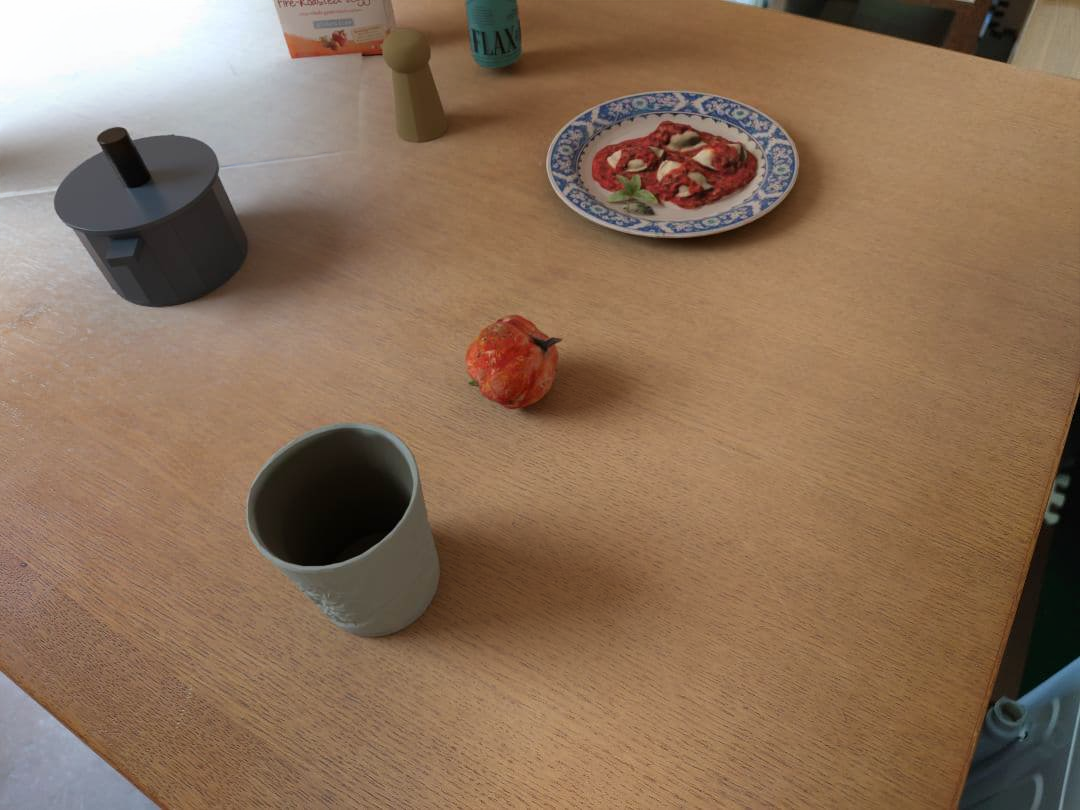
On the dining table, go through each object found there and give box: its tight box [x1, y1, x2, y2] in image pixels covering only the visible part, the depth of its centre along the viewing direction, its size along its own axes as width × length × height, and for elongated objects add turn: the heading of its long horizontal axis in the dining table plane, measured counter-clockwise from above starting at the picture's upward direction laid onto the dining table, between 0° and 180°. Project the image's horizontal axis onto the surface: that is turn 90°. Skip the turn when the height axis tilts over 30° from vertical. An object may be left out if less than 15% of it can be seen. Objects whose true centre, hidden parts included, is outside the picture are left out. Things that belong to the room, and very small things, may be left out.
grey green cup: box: [245, 422, 441, 638], centre depth 50 cm, size 10×10×12 cm
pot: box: [72, 133, 249, 308], centre depth 75 cm, size 14×19×9 cm
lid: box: [53, 126, 220, 235], centre depth 70 cm, size 15×15×6 cm
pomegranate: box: [464, 314, 563, 410], centre depth 62 cm, size 7×7×10 cm
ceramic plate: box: [545, 90, 800, 239], centre depth 81 cm, size 26×26×3 cm
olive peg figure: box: [382, 27, 449, 143], centre depth 87 cm, size 6×6×11 cm
